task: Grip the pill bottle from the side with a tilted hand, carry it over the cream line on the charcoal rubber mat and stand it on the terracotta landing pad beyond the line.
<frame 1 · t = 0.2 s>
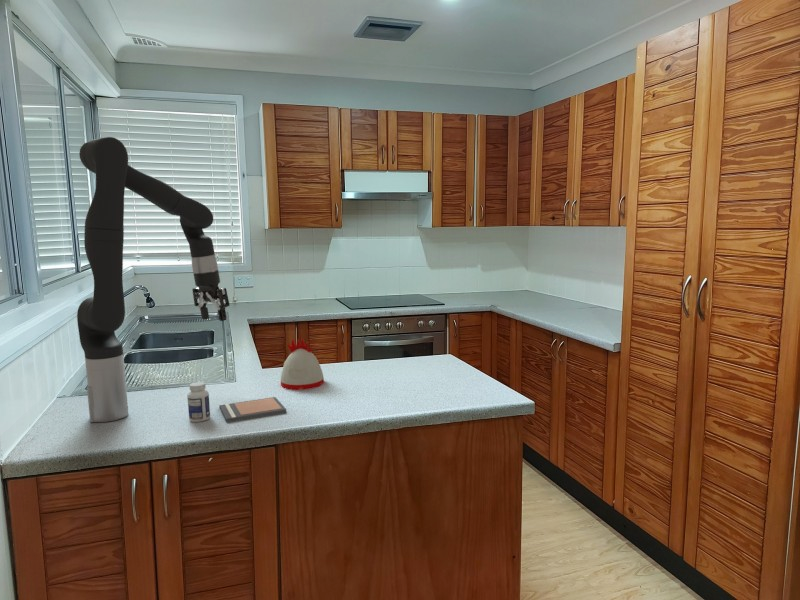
hand: (214, 319, 179), 22 cm above the countertop, tool pointing down, fingers open, 8 cm apart
pill bottle: (199, 419, 150), on the countertop
line mat: (252, 410, 156), on the countertop
white and red dome: (302, 384, 183), on the countertop
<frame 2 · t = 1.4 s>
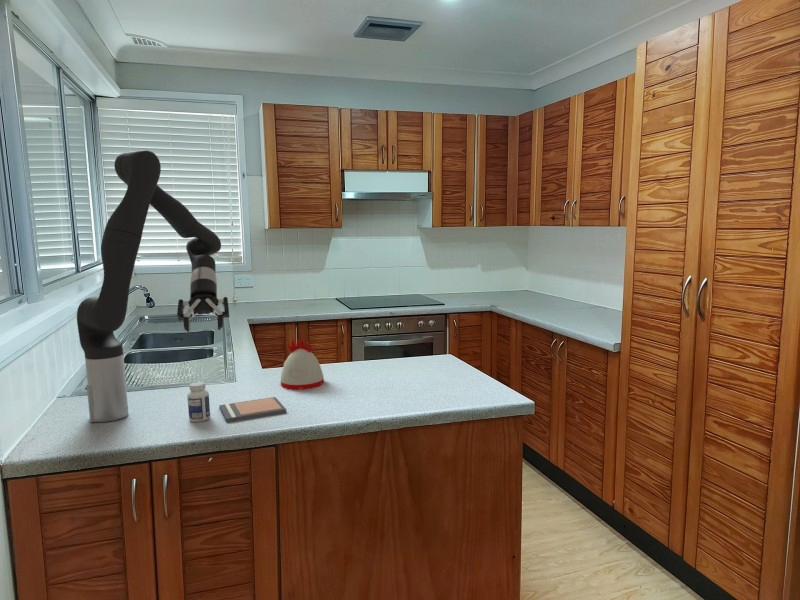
hand: (203, 329, 159), 22 cm above the countertop, tool tilted 45°, fingers open, 8 cm apart
nothing on the countertop moved.
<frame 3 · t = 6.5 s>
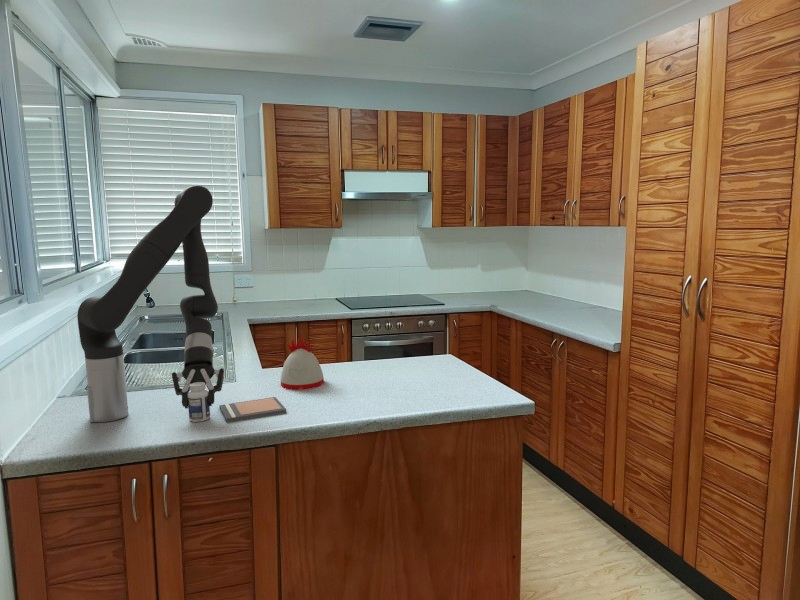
hand: (198, 405, 148), 4 cm above the countertop, tool tilted 45°, fingers closed on pill bottle, 5 cm apart
pill bottle: (199, 419, 150), on the countertop, touching gripper
everything else where it was.
when the fingers open (7 cm above the countertop, at t = 12.8 s): pill bottle drops 1 cm, resting on line mat.
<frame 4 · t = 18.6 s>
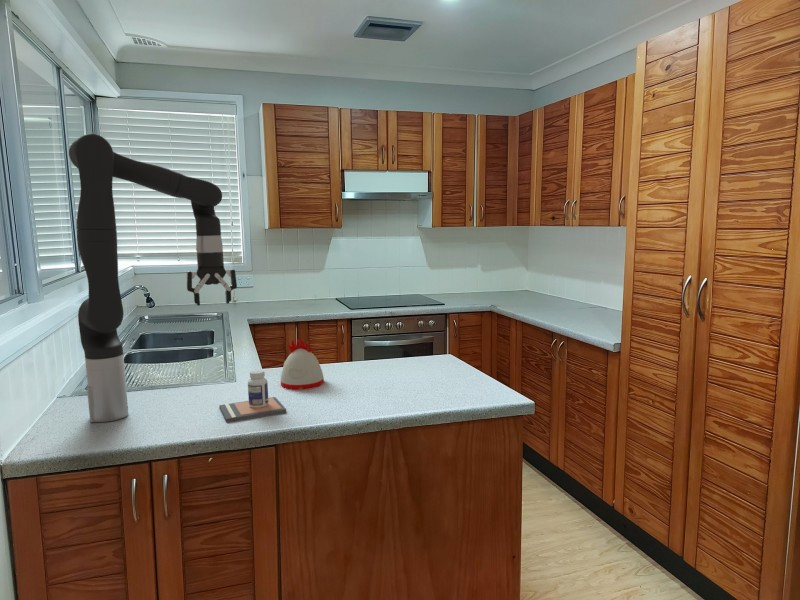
hand: (213, 304, 170), 28 cm above the countertop, tool pointing down, fingers open, 8 cm apart
pill bottle: (258, 406, 157), point 1 cm above the countertop, touching line mat
everything else where it was.
at the end: pill bottle inside the target area (0.6 cm from its centre), point 1.0 cm above the countertop; pill bottle tilted 0°; the gripper is holding nothing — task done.
